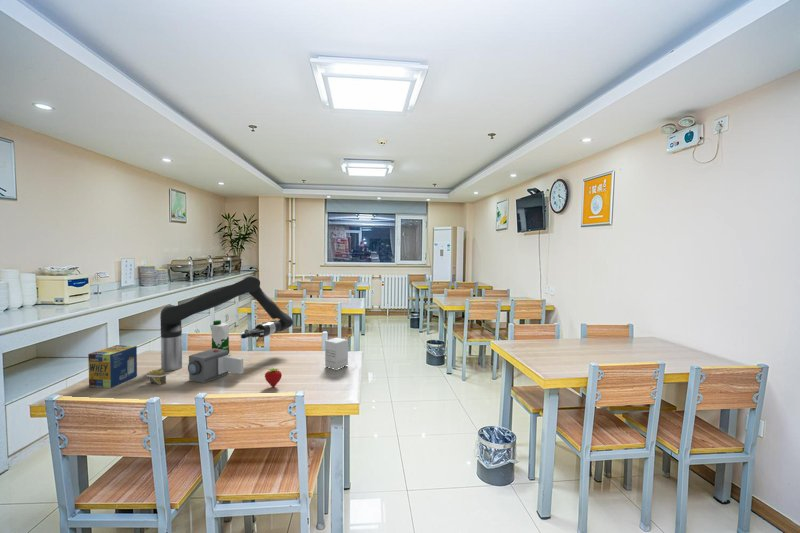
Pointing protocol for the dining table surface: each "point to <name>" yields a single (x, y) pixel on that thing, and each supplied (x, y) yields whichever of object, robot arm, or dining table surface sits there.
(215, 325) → the milk carton
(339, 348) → the supplement box
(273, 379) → the strawberry
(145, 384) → the dining table surface
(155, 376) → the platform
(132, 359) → the protein box
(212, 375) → the camera body
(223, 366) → the hatch
